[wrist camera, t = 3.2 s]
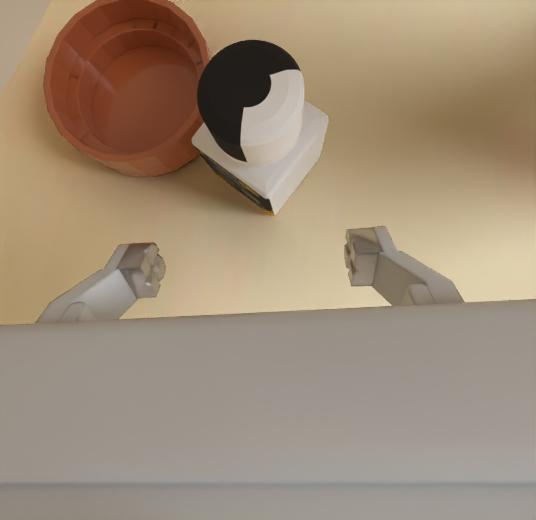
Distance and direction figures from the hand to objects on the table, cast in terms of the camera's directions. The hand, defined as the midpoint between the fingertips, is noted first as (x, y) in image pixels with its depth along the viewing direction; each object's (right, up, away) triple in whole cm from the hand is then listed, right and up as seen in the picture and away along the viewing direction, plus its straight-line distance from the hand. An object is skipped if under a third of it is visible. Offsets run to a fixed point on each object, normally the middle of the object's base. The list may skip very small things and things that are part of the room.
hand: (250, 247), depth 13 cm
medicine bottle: (+1, +8, +15) cm, 17 cm away
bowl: (-11, +14, +16) cm, 24 cm away
